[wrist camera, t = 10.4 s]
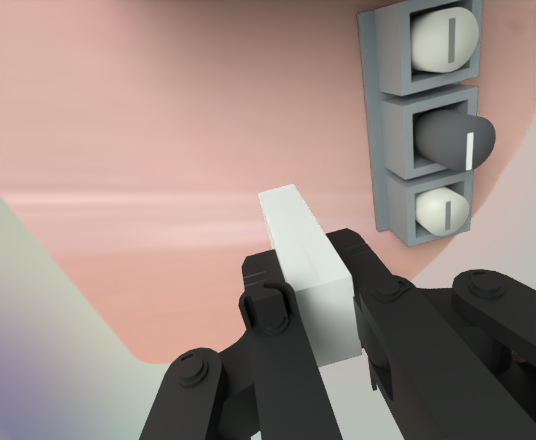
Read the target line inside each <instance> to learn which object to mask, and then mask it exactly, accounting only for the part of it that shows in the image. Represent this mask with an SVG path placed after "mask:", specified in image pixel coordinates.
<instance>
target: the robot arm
mask: <svg viewBox="0 0 536 440" xmlns="http://www.w3.org/2000/svg"><path fill="white" fill-rule="evenodd" d="M258 196H259V200H260V204H261V208H262V212H263V216H264V220H265V223H266V227H267V231H268V235H269V239H270V243H271V247H272V250H269V251H265V252H262V253H258V254H255V255H251V256H247V257H246V259H245V261H244V263H243V265H242V274H243V281H244V286H245V287H244V288H245V291H244V293H243V294H242V295H241V297H240V299H239V305H238V306H239V309H240V312H241V315H242V317H243V320H244V323H245V326H246V329H247V330H246V331H245V333H244V334H243V336H242V337H241V338H240V339H239V340H238V341H237V342H236V343H234V344H233V345H231V346H230V347H228V348H227V349H225V350H223V351H221V352H220V353H217V352H216V351H214V350H212V349H210V348H197V349H193V350H189V351H188V352H186V353H184V354H182V355H180V356H179V357H178V358H177V359H176V360H175V361H174V362H173V363H172V364H171V365H170V367H169V368H168V370H167V372H166V373H165V375H164V378H163V380H162V383H161V386H160V388H159V390H158V393H157V395H156V398H155V400H154V403H153V406H152V408H151V410H150V413H149V415H148V418H147V420H146V423H145V426H144V428H143V430H142V433H141V436H140V438H139V440H251V436H253V435H254V434H256V433H257V432H258V431H261V438H262V440H343V439H342V436H341V433H340V430H339V427H338V424H337V421H336V418H335V415H334V412H333V409H332V407H331V404H330V401H329V398H328V395H327V392H326V389H325V386H324V384H323V381H322V378H321V375H320V372H319V369H318V367H321V366H325V365H328V364H332V363H335V362H339V361H342V360H346V359H348V358H352V357H356V356H359V355H362V348H361V343H362V345H363V347H364V349H365V351H366V353H367V355H368V362H369V369H370V378H371V384H372V388H373V391H374V390H377V385H378V387H379V389H380V391H381V393H382V395H383V397H384V399H385V401H386V403H387V405H388V407H389V409H390V411H391V413H392V415H393V417H394V419H395V421H396V423H397V425H398V427H399V429H400V431H401V433H402V435H403V437H404V439H405V440H536V290H534V289H532V288H530V287H528V286H526V285H524V284H522V283H520V282H518V281H517V280H514V279H513V278H510V277H509V276H507V275H504V274H501V273H499V272H496V271H490V270H483V269H478V270H469V271H465V272H462V273H460V274H459V275H458V276H456V277H455V278H454V281H453V285H452V288H437V289H422V288H416V287H415V285H414V284H412V283H411V282H410V281H408V280H407V279H405V278H402V277H400V276H396V275H392V274H391V272H390V271H389V270H388V269H387V268H386V266H385V265H384V264H383V263H382V261H381V260H380V259H379V258H378V257H377V255H376V254H375V253H374V252H373V251H372V250H371V248H370V247H369V246H368V244H366V242H365V241H364V240H363V238H362V237H361V236H360V235H359V234H358V233H356V232H354V231H352V230H350V229H348V228H346V229H342V230H338V231H335V232H331V233H327V234H325V233H324V231H323V230H322V228H321V227H320V225H319V224H318V222H317V220H316V219H315V217H314V216H313V214H312V213H311V211H310V209H309V208H308V206H307V205H306V203H305V202H304V200H303V198H302V197H301V195H300V194H299V192H298V191H297V189H296V187H295V186H294V184H290V185H286V186H282V187H278V188H275V189H271V190H267V191H263V192H260V193H258ZM513 351H514V352H513ZM376 383H377V384H376Z"/></svg>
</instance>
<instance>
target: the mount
mask: <svg viewBox="0 0 536 440" xmlns="http://www.w3.org/2000/svg"><path fill="white" fill-rule="evenodd" d="M454 7H462V8H465V9H467V10H469V11H470V12H471V13H472V14H473V15H474V16H475V18H476V20H477V23H478V29H479V35H478V41H477V45H476V48H475V50H474V52H473V54H472V55H471V57H470V58H469V60H468V61H467V62H466V63H465V64H464V65H463V66H461V67H460V68H458V69H456V70H454V71H451V72H430V71H416V70H411V50H410V17H411V16H414V15H419V14H424V13H429V12H434V11H439V10H444V9H449V8H454ZM482 8H483V0H407V1H403V2H399V3H396V4H392V5H389V6H385V7H382V8H378V9H375V10H371V11H367V12H363V13H359V14H357V18H358V30H359V41H360V52H361V63H362V75H363V86H364V97H365V108H366V120H367V131H368V142H369V154H370V165H371V176H372V187H373V199H374V210H375V221H376V229H377V231H378V232H380V231H384V230H387V229H390V230H391V231H392V232H393V233H394V234H395V235H396V236H397V237H398V238H399V239H400V240H401V241H402V242H403V243H404V244H405V245H406V246H407V247H411V246H415V245H419V244H422V243H426V242H429V241H433V240H437V239H440V238H444V237H448V236H451V235H455V234H458V233H462V232H466V231H469V230H470V221H471V203H472V185H473V170H471V171H467V172H456V171H453V170H451V169H449V168H447V167H445V166H442V165H440V164H438V163H436V162H434V161H432V160H430V159H428V158H426V157H424V156H421V155H419V154H418V153H416V152H415V151H414V150H413V124H414V123H415V121H416V120H417V118H418V117H419V116H420V115H421V114H423V113H424V112H426V111H428V110H430V109H433V108H443V109H447V110H451V111H456V112H460V113H465V114H469V115H473V116H476V114H477V97H478V87H477V86H469V85H460V81H462V80H466V79H470V78H473V77H477V76H479V61H480V43H481V26H482ZM441 186H445V187H447V188H448V189H450V190H452V191H454V192H456V193H457V194H459V195H461V196H463V197H464V198H465V199H466V200H467V202H468V204H469V214H468V217H467V219H466V221H465V223H464V224H463V225H462V226H461V227H460V228H459V229H458V230H457V231H455V232H454V233H452V234H449V235H446V236H437V235H434V234H432V233H431V232H429V231H428V230H427V229H426V228H424V227H423V226H422V225H421V224H419V223H418V222H417V221H416V220H415V194H416V193H419V192H423V191H427V190H430V189H434V188H438V187H441Z"/></svg>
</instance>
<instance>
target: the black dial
mask: <svg viewBox="0 0 536 440" xmlns="http://www.w3.org/2000/svg"><path fill="white" fill-rule="evenodd" d="M495 137H496V135H495V129H494V127H493V125H492V123H491V122H490V121H488V120H487V119H485V118H482V117H478V116H473V115H469V114H465V113H460V112H456V111H451V110H447V109H443V108H433V109H430V110H428V111H426V112H424V113H423V114H421V115H420V116H419V117H418V118H417V120H416V121H415V123H414V124H413V150H414V151H415V152H416V153H418V154H419V155H421V156H424V157H426V158H428V159H430V160H432V161H434V162H436V163H438V164H440V165H442V166H445V167H447V168H449V169H451V170H453V171H456V172H467V171H471V170H473V169H475V168H477V167H478V166H480V165H481V164H482V163H483V162H484V161H485V160H486V159H487V158H488V156H489V155H490V153H491V152H492V150H493V147H494V144H495Z"/></svg>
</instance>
